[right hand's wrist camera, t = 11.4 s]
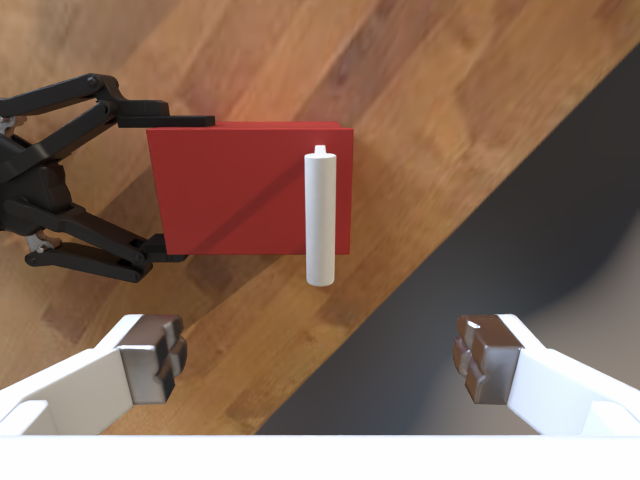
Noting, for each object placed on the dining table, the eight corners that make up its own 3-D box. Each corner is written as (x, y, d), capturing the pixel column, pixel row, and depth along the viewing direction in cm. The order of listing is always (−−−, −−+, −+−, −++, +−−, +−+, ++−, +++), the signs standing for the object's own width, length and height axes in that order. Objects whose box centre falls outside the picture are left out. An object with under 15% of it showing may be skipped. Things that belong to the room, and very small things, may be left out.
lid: (352, 127, 25) (366, 138, 18) (348, 250, 29) (358, 300, 21) (150, 128, 25) (82, 138, 18) (171, 250, 29) (120, 301, 21)
